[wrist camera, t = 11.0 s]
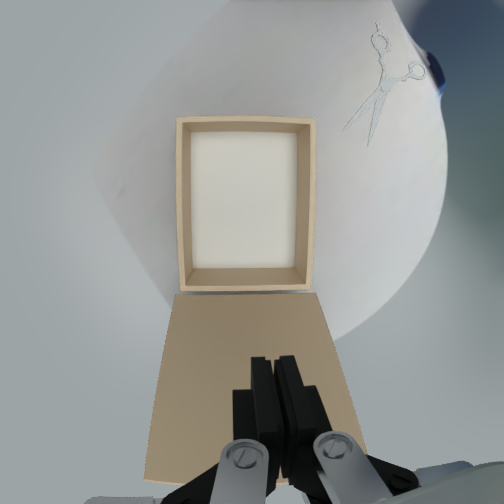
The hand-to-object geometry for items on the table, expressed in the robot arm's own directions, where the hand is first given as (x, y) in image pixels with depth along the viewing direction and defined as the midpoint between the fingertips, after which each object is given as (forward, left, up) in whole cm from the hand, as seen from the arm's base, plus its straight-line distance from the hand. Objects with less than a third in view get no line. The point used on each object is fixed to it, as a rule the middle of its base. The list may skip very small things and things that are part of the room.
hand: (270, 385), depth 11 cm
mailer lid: (+7, 0, -11) cm, 13 cm away
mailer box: (-5, 0, -28) cm, 28 cm away
